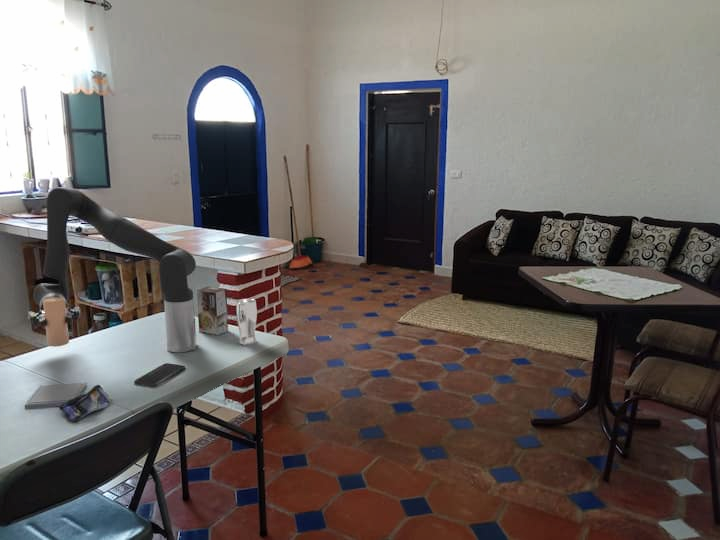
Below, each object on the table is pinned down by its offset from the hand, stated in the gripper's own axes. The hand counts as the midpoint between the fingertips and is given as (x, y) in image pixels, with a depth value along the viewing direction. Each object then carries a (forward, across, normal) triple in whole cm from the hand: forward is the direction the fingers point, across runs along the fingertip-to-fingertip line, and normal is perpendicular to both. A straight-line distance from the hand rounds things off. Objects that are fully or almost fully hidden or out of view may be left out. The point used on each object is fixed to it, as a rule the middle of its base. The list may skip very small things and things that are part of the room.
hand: (56, 322), depth 156 cm
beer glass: (-6, +58, +18) cm, 61 cm away
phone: (+10, +26, +18) cm, 33 cm away
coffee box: (-23, +51, +18) cm, 58 cm away
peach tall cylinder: (-3, 0, +7) cm, 7 cm away
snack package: (+24, +4, +18) cm, 30 cm away
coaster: (+11, -2, +18) cm, 21 cm away
